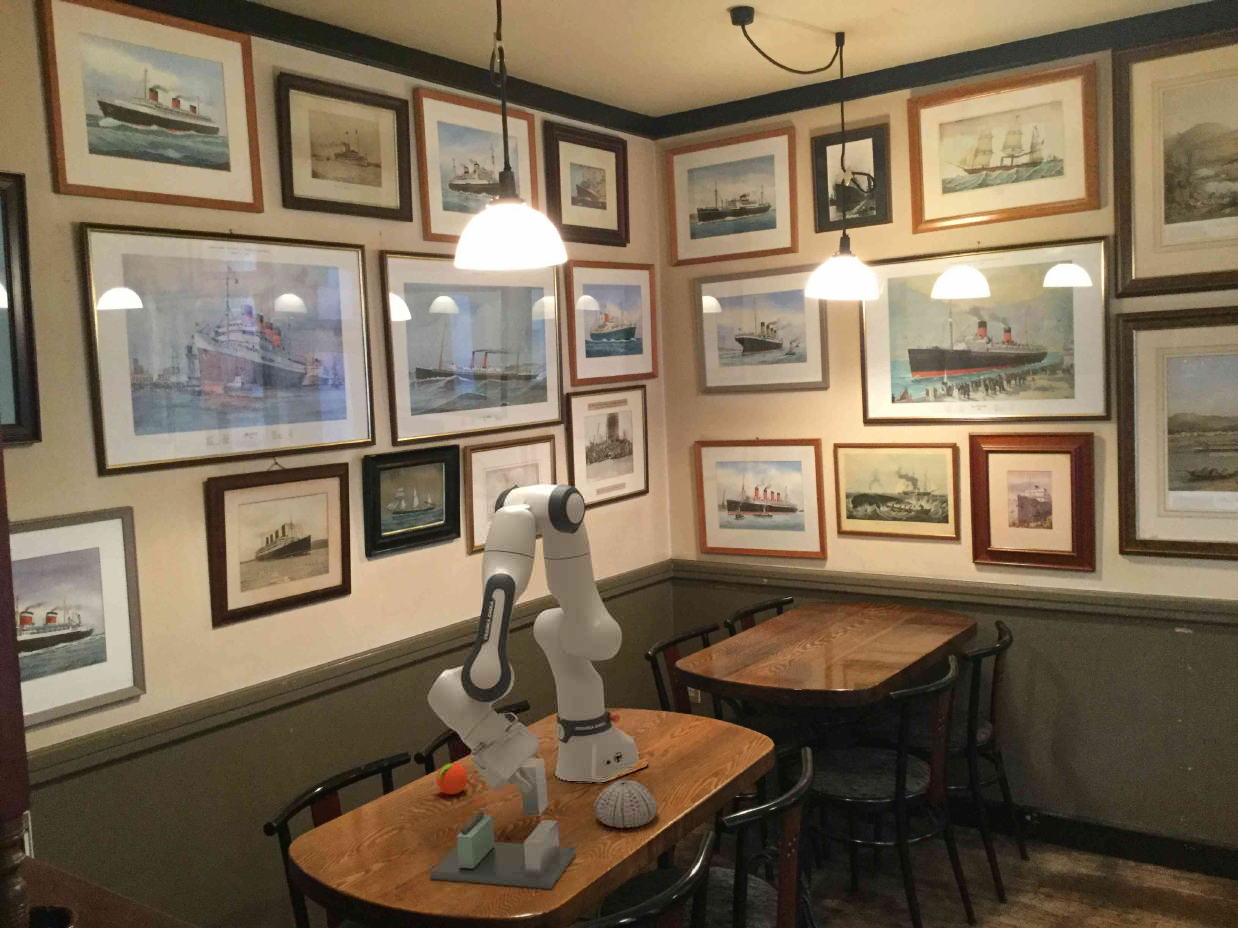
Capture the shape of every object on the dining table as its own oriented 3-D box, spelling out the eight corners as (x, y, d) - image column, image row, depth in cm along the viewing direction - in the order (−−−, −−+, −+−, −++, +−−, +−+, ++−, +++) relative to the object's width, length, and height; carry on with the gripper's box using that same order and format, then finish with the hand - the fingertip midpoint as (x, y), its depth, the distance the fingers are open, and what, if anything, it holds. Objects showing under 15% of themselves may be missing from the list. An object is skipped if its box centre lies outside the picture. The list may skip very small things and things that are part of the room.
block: (523, 814, 205) (519, 766, 204) (532, 804, 210) (528, 757, 209) (539, 815, 204) (535, 767, 203) (547, 805, 209) (544, 758, 208)
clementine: (451, 802, 225) (449, 771, 225) (428, 797, 229) (426, 767, 228) (474, 790, 232) (472, 760, 231) (452, 785, 235) (450, 756, 235)
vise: (430, 878, 188) (427, 839, 188) (462, 846, 201) (459, 810, 201) (550, 889, 181) (548, 848, 181) (575, 855, 195) (573, 817, 194)
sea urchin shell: (617, 803, 220) (615, 767, 219) (670, 813, 212) (668, 776, 212) (582, 825, 209) (579, 788, 208) (636, 838, 201) (634, 798, 201)
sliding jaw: (458, 867, 188) (456, 829, 188) (480, 844, 198) (478, 808, 198) (473, 868, 188) (471, 830, 187) (494, 845, 197) (492, 809, 197)
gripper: (477, 743, 198) (527, 793, 196) (516, 709, 217) (562, 755, 215) (458, 764, 199) (507, 814, 197) (498, 729, 219) (544, 774, 217)
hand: (536, 783), depth 206 cm, fingers closed on block, 5 cm apart
